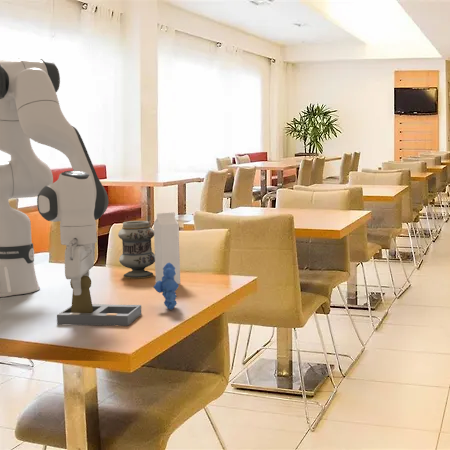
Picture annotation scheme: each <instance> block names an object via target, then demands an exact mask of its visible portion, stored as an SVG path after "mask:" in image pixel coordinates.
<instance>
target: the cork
mask: <svg viewBox="0 0 450 450" xmlns="http://www.w3.org/2000/svg"><path fill="white" fill-rule="evenodd" d="M69 282H70V288H71V289H72V290H73V286H72V283H71V280H70V281H69ZM81 287H82V293H81V294H80V295H74V294H73V293H72V297H71V305H70V306H71V313H93V306H92V304H93V302H92V295H91V291H90V289H91V287H92V280H91V278H90V276H89V277H88V276H84V275H83V276H82V277H81Z"/></svg>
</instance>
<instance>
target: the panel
mask: <svg viewBox="0 0 450 450" xmlns="http://www.w3.org/2000/svg"><path fill="white" fill-rule="evenodd" d="M71 306H72V305H70V306H69V307H67V308H66V309H64V310H62V311H60V312H59V313H57V314H56V324H57V325H62V324H77V325H76V326H80V325H81V326H115V325H118V326H119V327H120V326H121V327H122V326H123V327H125V326H126V327H128V326H129V325H131V324H132V323H133V322H134V321H135V320H137V319H138V318H139V317H141V315H142V313H143V312H142V304H99V303H97V304H96V303H94V304H93V303H92V306H93V313H71Z"/></svg>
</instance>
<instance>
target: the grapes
mask: <svg viewBox="0 0 450 450" xmlns="http://www.w3.org/2000/svg"><path fill="white" fill-rule="evenodd" d="M175 269H176V268H175V267H174V266H173V265H172V264H171V263H167V264H166V265H165V266H164V268H163V270H164V271H163V275H164V276H163V277H162V281H157V283H156V282H155V284H154V286H153V289H154V290H155V291H156V292H157V293H159V294H160V293H162V294H161V295H162V296H163V298H164V299H165V300H164V301H163V305H164V306H165V307H166V308H167V309H168V310H173V309H174V308H175V307H176V306H177V304H178V303H177V300H176V299H177V295H176V294H177V293H176V291H177V290H178V288H179V286H180V284H177V283H176V281H175V280H174V276H175V274H176V273H175V271H174V270H175Z"/></svg>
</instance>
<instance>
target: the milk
mask: <svg viewBox="0 0 450 450" xmlns="http://www.w3.org/2000/svg"><path fill="white" fill-rule="evenodd" d="M179 225H180V224H179V222H178V220H177V218H176V214H175V212H163V213H156V219H155V221H154V222H153V230H154V236H153V239H154V240H153V241H154V243H153V244H154V254H155V262H154V268H155V270H154V271H155V273H154V274H155V284H156V283H157V281H162V277H163V276H164V275H163V271H164V270H163V268H164V266H165V265H166V264H167V263H171V264H172V265H173V266H174V267H175V268H176V269H175V270H174V271H175V273H176V274H175V276H174V280H175V281H176V283H177V284H178V285H180V284H181V259H180V258H181V257H180V255H181V254H180V227H179Z"/></svg>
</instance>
